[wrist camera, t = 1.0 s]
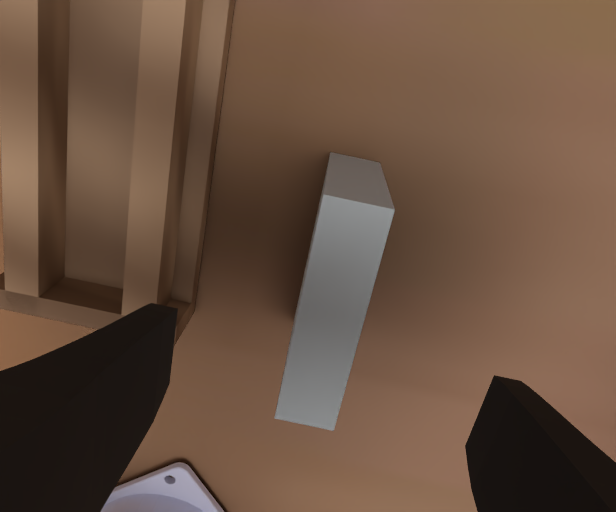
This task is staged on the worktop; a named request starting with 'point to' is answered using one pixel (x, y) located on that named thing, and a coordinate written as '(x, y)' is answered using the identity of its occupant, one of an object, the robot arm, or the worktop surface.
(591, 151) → the worktop surface
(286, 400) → the grey rectangular block
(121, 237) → the sill track
